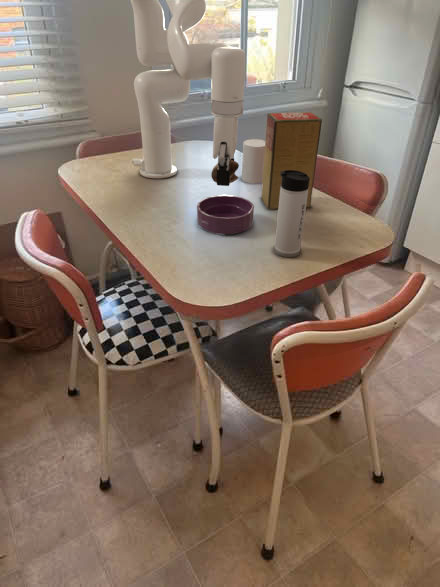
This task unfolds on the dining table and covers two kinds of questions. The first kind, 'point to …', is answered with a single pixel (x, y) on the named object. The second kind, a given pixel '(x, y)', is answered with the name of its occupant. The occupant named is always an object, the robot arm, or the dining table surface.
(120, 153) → the dining table surface
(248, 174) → the white cylinder
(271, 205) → the food packaging
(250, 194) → the dining table surface
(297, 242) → the travel mug
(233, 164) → the mushroom
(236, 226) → the bowl
